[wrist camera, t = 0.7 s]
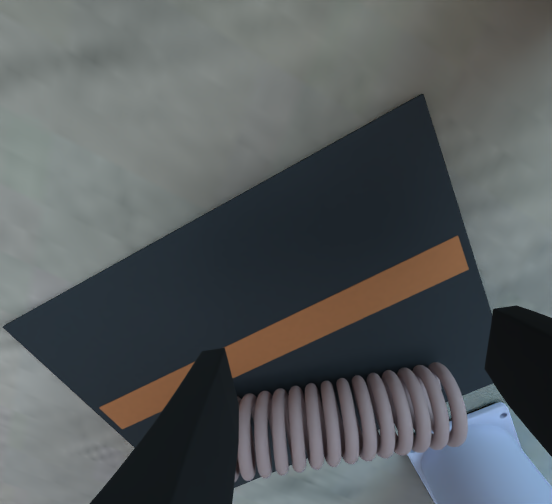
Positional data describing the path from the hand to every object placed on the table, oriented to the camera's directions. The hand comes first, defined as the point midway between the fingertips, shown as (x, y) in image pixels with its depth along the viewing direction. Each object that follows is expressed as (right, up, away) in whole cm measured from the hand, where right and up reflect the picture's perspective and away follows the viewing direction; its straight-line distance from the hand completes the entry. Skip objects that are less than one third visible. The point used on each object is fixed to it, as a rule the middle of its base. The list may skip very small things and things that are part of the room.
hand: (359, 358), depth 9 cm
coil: (0, -7, +14) cm, 15 cm away
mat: (-2, -4, +12) cm, 13 cm away
